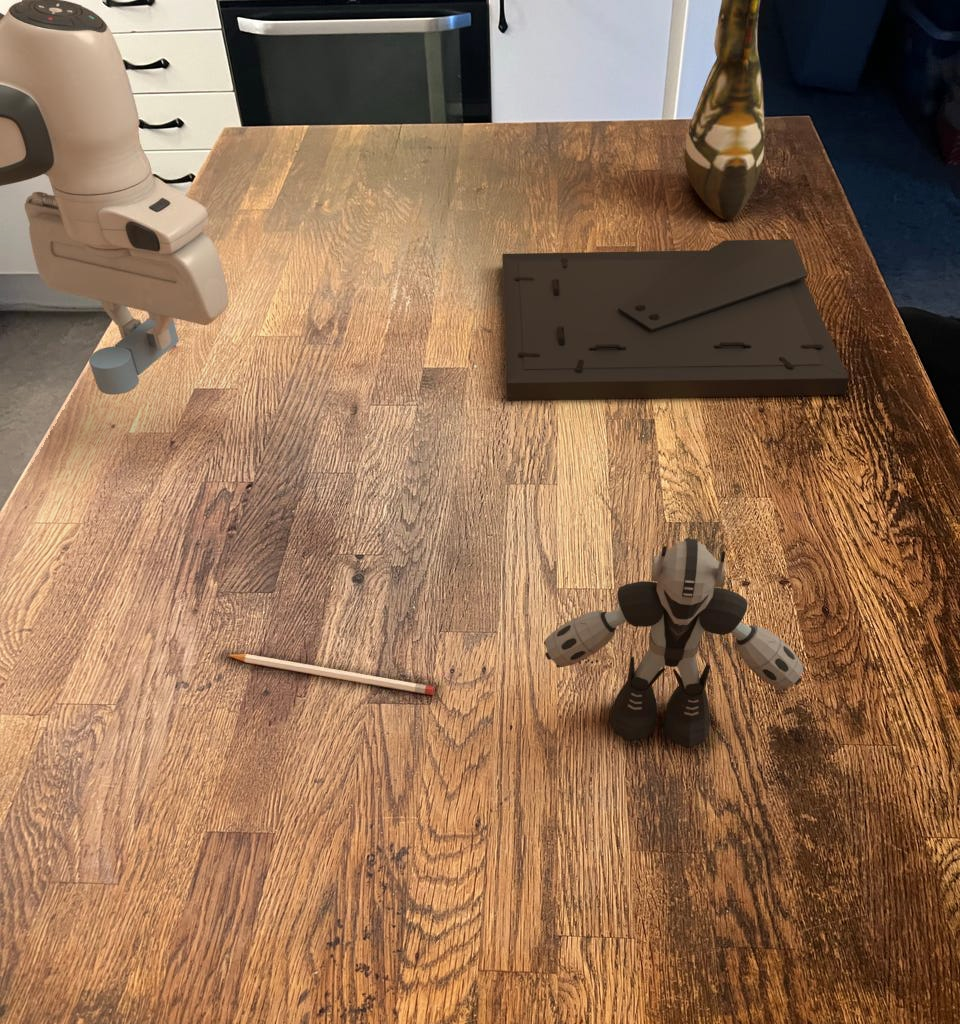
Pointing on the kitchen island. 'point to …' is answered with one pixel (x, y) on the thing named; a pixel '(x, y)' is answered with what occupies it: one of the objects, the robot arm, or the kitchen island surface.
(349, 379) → the kitchen island surface
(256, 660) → the pencil
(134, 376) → the grey mallet
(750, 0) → the statue
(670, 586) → the robot
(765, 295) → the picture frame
